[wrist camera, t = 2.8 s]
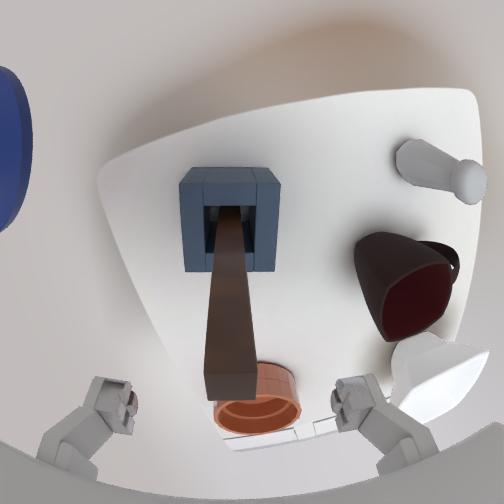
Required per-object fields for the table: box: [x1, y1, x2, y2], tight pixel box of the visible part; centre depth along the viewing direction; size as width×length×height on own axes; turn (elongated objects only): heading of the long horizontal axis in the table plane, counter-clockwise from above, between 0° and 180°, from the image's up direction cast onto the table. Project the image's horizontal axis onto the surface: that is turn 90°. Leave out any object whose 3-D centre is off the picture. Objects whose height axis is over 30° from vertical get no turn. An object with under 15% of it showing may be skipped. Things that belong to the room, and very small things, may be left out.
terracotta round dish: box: [214, 363, 302, 435], centre depth 43 cm, size 14×14×7 cm
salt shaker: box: [396, 139, 487, 205], centre depth 24 cm, size 6×6×13 cm
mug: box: [354, 232, 460, 342], centre depth 30 cm, size 10×14×12 cm
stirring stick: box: [203, 206, 258, 401], centre depth 21 cm, size 2×2×24 cm
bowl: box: [390, 332, 489, 424], centre depth 40 cm, size 19×19×14 cm
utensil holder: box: [179, 167, 281, 272], centre depth 28 cm, size 8×8×8 cm
